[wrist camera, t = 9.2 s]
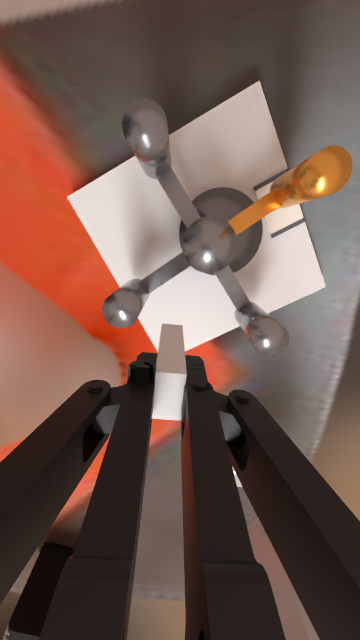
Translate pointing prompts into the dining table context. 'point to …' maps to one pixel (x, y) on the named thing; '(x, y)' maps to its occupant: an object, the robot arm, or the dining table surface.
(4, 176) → the dining table surface
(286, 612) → the wineglass
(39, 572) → the electronic device
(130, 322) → the silver metal piece
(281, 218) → the stand plate
